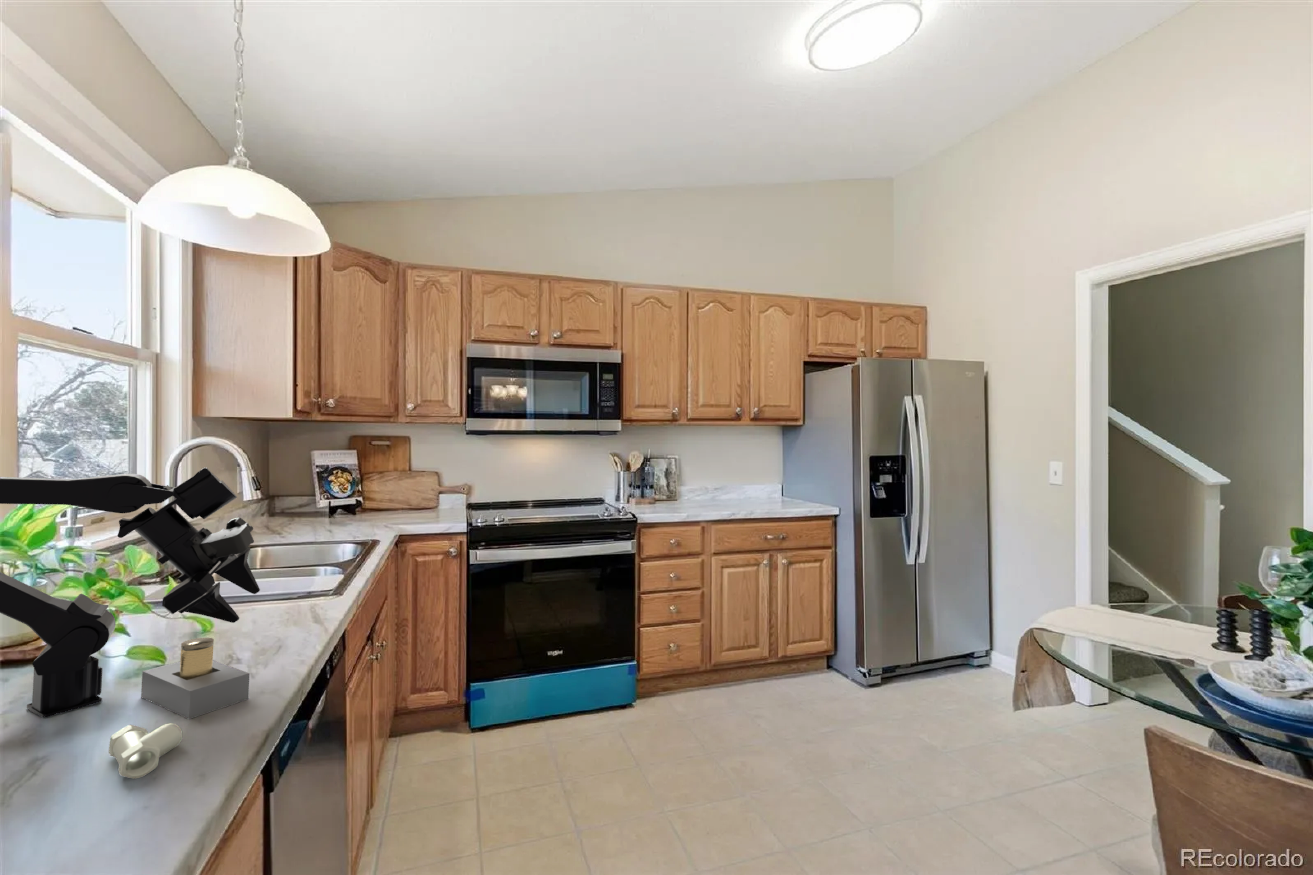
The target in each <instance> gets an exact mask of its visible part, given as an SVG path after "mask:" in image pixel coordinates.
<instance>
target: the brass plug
mask: <svg viewBox="0 0 1313 875" xmlns="http://www.w3.org/2000/svg"><path fill="white" fill-rule="evenodd" d="M214 642H215V640H214V638H213V637H198V638H197V637H196V638H192V639H191V638H190V639H187V640H185V641H182V642H181V644H180V661H179V662H180V678H182V679H185V680H189V679H193V678H196V677H200V676H203V675H207V674H210V673H212V665H213V660H214Z"/></svg>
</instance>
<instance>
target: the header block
mask: <svg viewBox="0 0 1313 875" xmlns="http://www.w3.org/2000/svg"><path fill="white" fill-rule="evenodd" d="M249 691H250V672H248V671H245V670H241V669H239V668H236V667H233V666H231V665H227V664H225V663H222V662H219V661H216V660H214V659H213V665H212V673H210V674H207V675H203V676H200V677H196V678H193V679H189V680H185V679H182V678H180V661H177V662H172V663H168V664H165V665H164V664H163V665H161V666H158V667H157V666H156V667H153V668H150V669H145V670H142V673H141V691H140V692H141V694H140V697H141V698H142V697H143V698H142V699H144V698H145V699H144V700H146V699H147V701H148V700H150V701H149V702H151V701H152V702H151V703H153V702H154V703H153V704H155V705H157V704H158V705H157V706H159V705H161V706H162V708H164V709H166V710H168V711H170V712H173V713H175V714H177V715H180V716H181V717H184V718H186V719H188V720H190V719H193V718H197V717H198V716H203V715H205V714H208V713H210V712H214V711H217V710H220V709H223V708H227V707H229V706H232V705H234V704H238V703H241V702H244V701H247V700H249ZM161 706H160V707H161Z"/></svg>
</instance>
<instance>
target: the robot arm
mask: <svg viewBox="0 0 1313 875" xmlns="http://www.w3.org/2000/svg"><path fill="white" fill-rule="evenodd" d="M171 497H173V498H174V499H172V500H171V501H169V502H168V503H166V504H165V505H164V506H162V507H160V508H159V509H157V510H155V508H152V507H150V506H149V507H147V508H146V509H144V510H143V511H141V512H140V513H138V514H136V515H135V516H133V517H131V518H124V517H122V518H121V519H119V520H118V523H119V528H118V529H119V530H118V533H117V537H118V539H122V538H124V537H126V536H127V535H129V534H130V533H132V532H134V531H135V532H136V533H137V534H138V535H139V536H140V537H142V539H143V540H145V541H146V542H147V543H148V544H149V545H150V546H151V547H152V548H153V549H155V550H156V551H157V552H158V553H159V554H160V555H161V556H160V557H159V558H158V559H157V561H158V562H159V563H160V564H161V565H164V564H165V563H167V562H168V563H169V564H171V566H173V567H174V568H175V569H176V570H177V571H179V572H180V576H178V577H177V579H178V581H180V583H179V584H177V585H176V586H174V587H173V588H171V590H170V591H169V592H167V593H166V595H165V596H163V598H162V601H161V602H162V604H161V607H163V609H165V610H166V611H167V612H168V613H169V614H171V615H175V614H176V613H179V614H184V613H190V614H194V615H201V616H205V617H208V618H213V619H215V620H216V619H217V620H220V621H224V622H228V623H233V624H234V623H236V622H238V621H239V620H240V616H239V615H238V614H237V611H235V610H234V609H233V608H232V606H231V605H230V604H229V603H228V602H227V601H226V600H225V598H224V597H223V596H222V595H221V592H220V588H221V582H220V581H218V582H217V583H216V582H215V577H214V576H213V575H214V574H215V575H217V576H219V577H221V578H222V579H224V580H226V581H228V582H231V583H232V584H234V585H236V586H237V587H239V588H241V589H242V590H245V591H247V592H248V593H251V594H253V595H256V594H258V593H260V591H261V588H260V587H259V584H258V583H257V581H256V578H255V576H254V574H253V572H252V569H251V568H250V565H249V563H248V558H249V555H250V554H249V553H250V551H251V547H250V546H251V545H252V544H253V543H254V542H255V540H254V538H253V536H252V531H253V530H254V526H252V525H250V524H249V523H248V522H247V521H246V520H244V519H243V518H241V517H235V518H231V519H230V520H229V521H228V522H227V523H226V527H225V528H221V530H219V531H216V532H211V530H210V529H208V528H204V527H201V528H200V529H199V530H198V529H197V528H196V527H195V526H194V525H193V524H192V523H191V522H190V521H189V520H188V519H187V518H185V516H183V514H181V513H180V512H179V510H177V509H176V508H175V507H174V505H177V507H178V508H179V509H180V510H181V511H182V512H183V513H184V514H185V515H187V516H188V517H189V518H190V519H192V520H194V519H197V518H199V517H200V518H202V519H203V520H206V519H207V518H208V517H210V516H211V515H213V514H215V513H216V512H218V511H219V510H221V509H222V508H224V507H226V506H227V505H228V504H230V503H231V502H233V501H234V500H236V499H238V496H237V494H236V493H235V492H234V491H233V490H232V489H231V488H230V487H229V486H228V484H227V483H226V482H224V480H222V479H221V480H220V478H218V477H217V476H216V475H215V474H214V473H213V472H212V471H211V470H210V469H208V467H203V468H202V469H200V470H199V471H197V472H196V473H195V474H194V475H192V476H191V477H190V478H188V479H186V480H185V481H183V482H182V483H181V484H179V485H177V486H175V487H174V486H169V485H168V484H167V485H165V484H164V485H163V484H157V483H152V482H151V481H150V480H149V479H148V478H146V477H145V476H144V475H141V474H138V473H122V474H120V473H119V474H109V475H99V476H91V477H89V476H88V477H82V478H52V477H51V478H50V477H49V478H48V477H45V478H44V477H41V478H40V477H22V476H21V477H18V476H16V477H15V476H13V477H12V476H0V505H3V504H4V505H57V506H59V505H62V506H63V505H64V506H71V507H72V506H73V507H78V508H85V509H88V510H94V511H101V512H108V513H115V514H130V513H133V512H136V511H138V510H140V509H141V508H143V507H144V506H145V505H156V504H162V503H163V502H165V501H167V500H169V499H170V498H171ZM108 608H109V604H101V603H98V602H96V601H94V600H92V599H91V598H90V597H88V596H87V595H85V594H84V593H79V594H78V595H77V596H76V597H75V598H74V600H68V599H63V598H62V599H61V598H56V597H55V596H51V595H50V594H47V593H46V592H43V591H41V590H39V589H37V588H35V587H32V586H30V585H28V584H27V583H25V582H23V581H21V580H18V579H16V578H15V577H11V576H9V575H8V574H6V573H3V572H1V571H0V614H1V615H4V616H7V617H8V618H10V619H13V620H15V621H18V622H20V623H22V624H24V625H26V626H27V627H29V628H30V630H32V631H33V633H35V635H36V636H37V637H39V638H40V639H41V641H42V642H44V643H45V644H46V646H45V647H44V649H43V650H42V651H41V652H40V653H39V654H38V655H37V657H36V658H35V659H34V660H33V662H32V663H31V664H32V667H33V679H32V680H33V682H32V694H31V696H32V698H31V699H32V700H31V703H28V704H27V705H26V709H27V710H29V711H31V712H33V713H34V714H36V715H38V716H39V717H41V718H43V719H44V718H50V717H53V716H56V715H59V714H63V713H67V712H72V711H75V710H78V709H81V708H85V707H88V706H92V705H95V704H98V703H101V702H103V698H102V697H100V695H101V694H102V685H103V684H102V683H103V667H101V666H100V665H99V660H100V659H99V658H97V657H95V656H93V655H94V654H96V653H98V652H99V651H100V650H102V649H103V648H104V647H105V645H106V644H107V642H108V641H109V640H110V638H111V636H112V635H113V633H114V631H115V629H116V619H115V616H114V614H113V613H112V612H110V611H109V610H108Z"/></svg>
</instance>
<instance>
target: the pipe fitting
mask: <svg viewBox="0 0 1313 875" xmlns="http://www.w3.org/2000/svg"><path fill="white" fill-rule="evenodd" d="M109 740H110V741H109V744H108V745H109V746H108V754H109V756H110V757H112V758H115V760H116V762H117V763H118V773H119V775H120V776H121V777H125V778H128V779H133V780H136V779H140V778H142V777H145V776H146V775H148V774H149V773H151V772H152V771H153V770H155V769H157V768H158V767H159V766H158V765H159V762H160V757H162V756H163V755H165V754H166V753H168V752H170V751H171V750H173V749H174V748H177V746H179V744H180V743H181V741H182V740H183V732H182V729H181V727H180V726H178V725H177V724H175V723H168V722H167V723H165V724H162V725H161V726H159V727H157V728H155V729H154V730H152V731H150V732H148V730H147V728H144V727H141V726H137V725H134V724H128V725H126V726H124V727H123V728H121V729H119V730H118V731H117V732H115V733H113V734H112V735H111V736H110V739H109Z"/></svg>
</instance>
